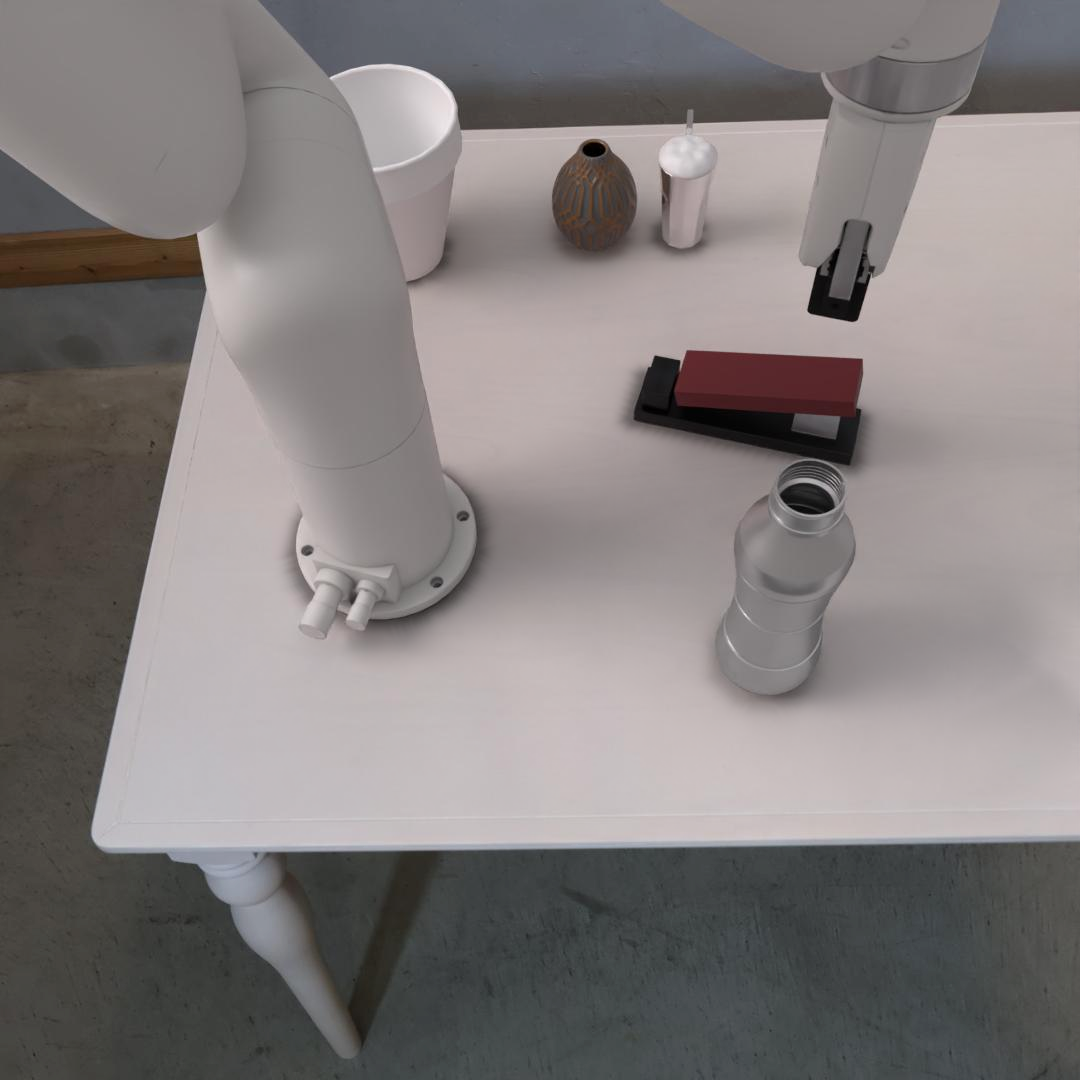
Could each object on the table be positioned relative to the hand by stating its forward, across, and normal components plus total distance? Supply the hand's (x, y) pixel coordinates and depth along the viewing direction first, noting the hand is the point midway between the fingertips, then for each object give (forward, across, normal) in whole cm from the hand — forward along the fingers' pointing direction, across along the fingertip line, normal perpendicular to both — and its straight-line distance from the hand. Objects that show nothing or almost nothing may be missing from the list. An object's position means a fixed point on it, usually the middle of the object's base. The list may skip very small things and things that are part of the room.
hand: (833, 308), depth 71 cm
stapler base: (+13, 0, -4) cm, 14 cm away
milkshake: (+13, -18, -13) cm, 26 cm away
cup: (+14, -10, -35) cm, 39 cm away
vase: (+14, -16, -20) cm, 29 cm away
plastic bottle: (+14, +19, +1) cm, 23 cm away
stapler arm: (+9, 0, -3) cm, 10 cm away
